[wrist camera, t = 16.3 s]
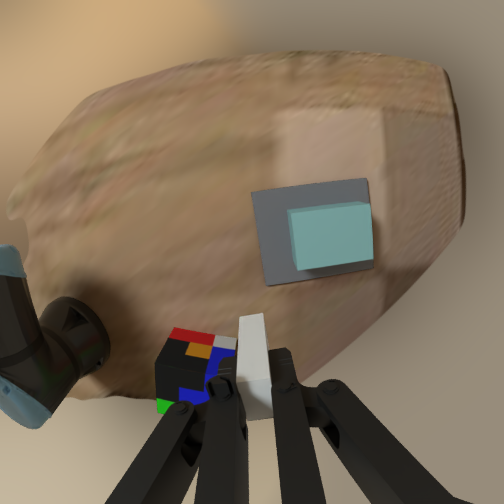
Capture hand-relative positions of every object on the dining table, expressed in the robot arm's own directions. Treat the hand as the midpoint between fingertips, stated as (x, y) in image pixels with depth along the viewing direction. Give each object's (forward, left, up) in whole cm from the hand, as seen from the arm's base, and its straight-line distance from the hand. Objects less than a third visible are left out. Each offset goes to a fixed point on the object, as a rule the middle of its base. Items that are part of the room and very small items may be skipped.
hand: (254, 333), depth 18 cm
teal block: (+5, +2, -19) cm, 19 cm away
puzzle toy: (-11, -16, -22) cm, 30 cm away
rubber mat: (+9, +2, -22) cm, 23 cm away
